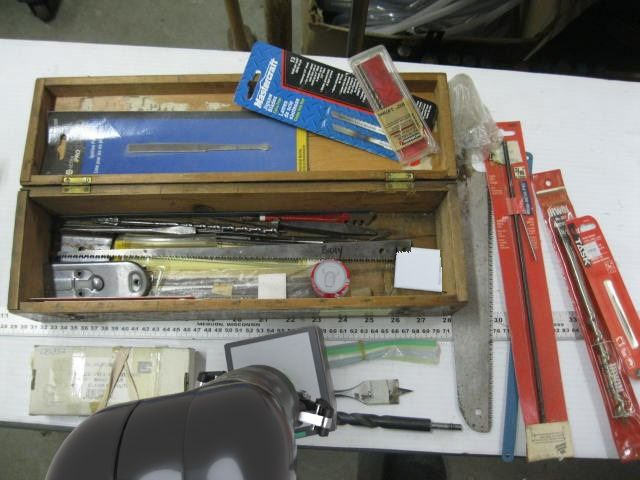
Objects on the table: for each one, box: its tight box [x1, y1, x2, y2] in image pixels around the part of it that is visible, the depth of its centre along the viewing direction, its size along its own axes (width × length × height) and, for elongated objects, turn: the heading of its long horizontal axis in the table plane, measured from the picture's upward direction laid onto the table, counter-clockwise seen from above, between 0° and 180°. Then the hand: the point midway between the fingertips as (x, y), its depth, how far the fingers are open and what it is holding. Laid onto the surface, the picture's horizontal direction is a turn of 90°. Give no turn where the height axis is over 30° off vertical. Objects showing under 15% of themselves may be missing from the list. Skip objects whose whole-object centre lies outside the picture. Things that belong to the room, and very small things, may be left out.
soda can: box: [310, 258, 351, 299], centre depth 84 cm, size 7×7×12 cm
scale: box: [223, 325, 336, 440], centre depth 61 cm, size 14×13×3 cm
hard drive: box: [393, 246, 443, 293], centre depth 89 cm, size 2×8×12 cm
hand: (275, 392), depth 53 cm, fingers closed on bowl, 5 cm apart
